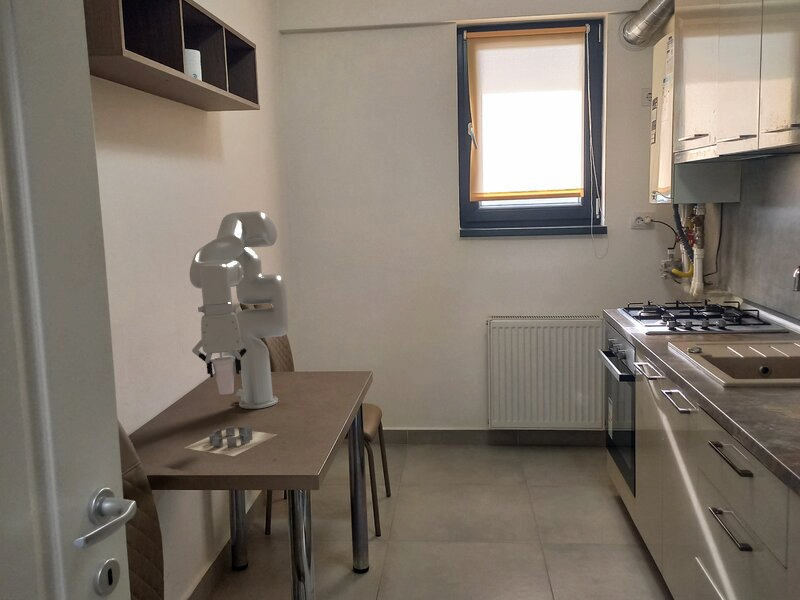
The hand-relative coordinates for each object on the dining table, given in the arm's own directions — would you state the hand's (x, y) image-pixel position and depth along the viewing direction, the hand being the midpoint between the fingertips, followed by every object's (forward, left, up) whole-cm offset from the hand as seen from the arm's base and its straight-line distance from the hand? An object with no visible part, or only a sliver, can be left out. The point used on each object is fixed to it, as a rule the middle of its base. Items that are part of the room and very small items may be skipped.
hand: (224, 374), depth 202 cm
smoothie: (0, 0, -5) cm, 5 cm away
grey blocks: (0, 0, -19) cm, 19 cm away
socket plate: (0, 0, -20) cm, 20 cm away
